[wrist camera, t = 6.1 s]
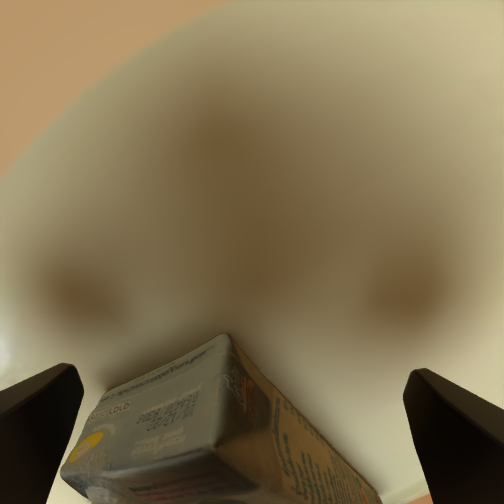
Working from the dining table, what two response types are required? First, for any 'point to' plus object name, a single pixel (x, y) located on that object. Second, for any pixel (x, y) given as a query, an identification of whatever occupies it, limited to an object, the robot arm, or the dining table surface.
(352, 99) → the dining table surface
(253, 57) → the dining table surface
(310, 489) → the beverage carton
